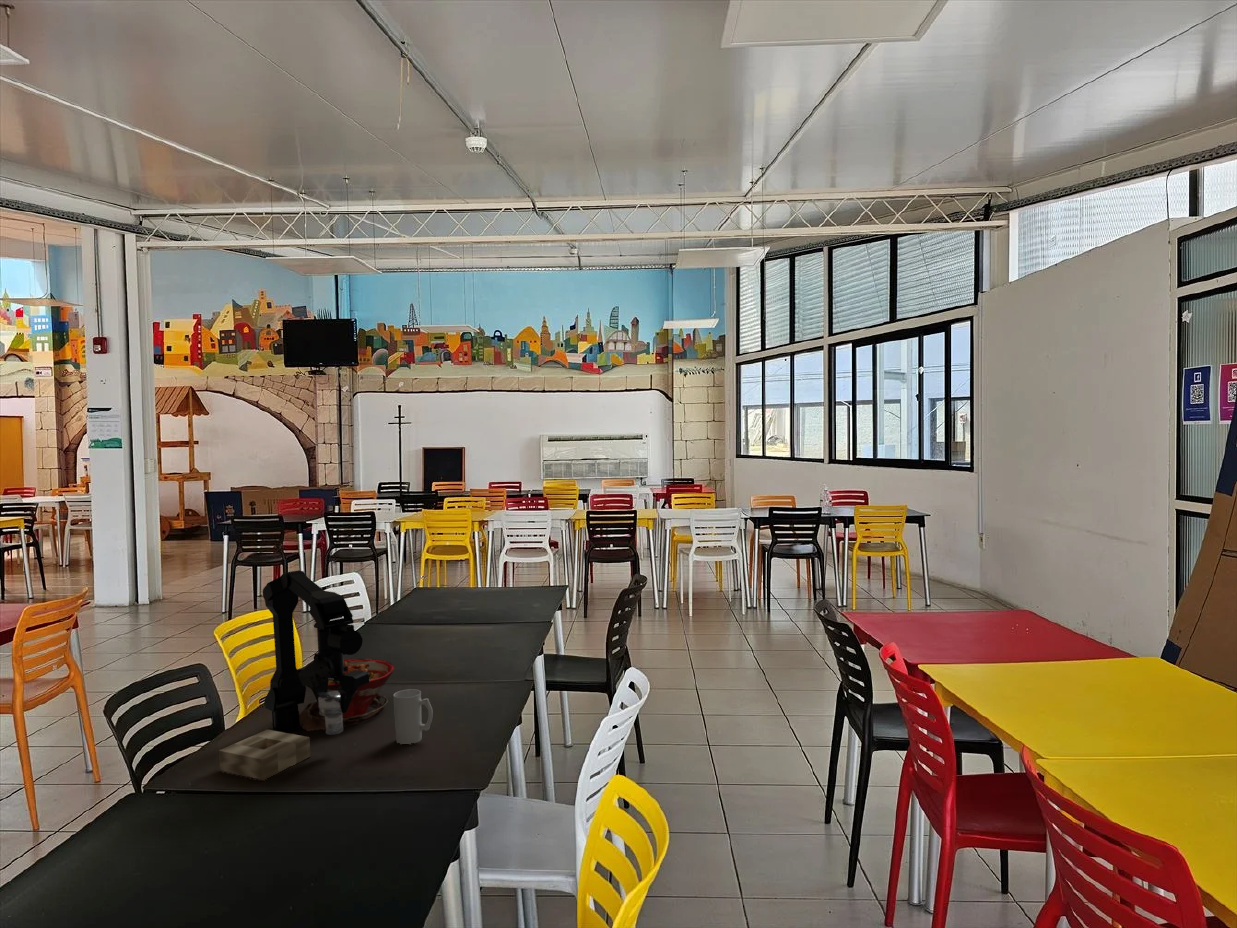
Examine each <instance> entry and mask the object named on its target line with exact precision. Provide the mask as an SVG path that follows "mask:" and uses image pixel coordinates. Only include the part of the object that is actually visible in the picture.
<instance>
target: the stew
mask: <svg viewBox="0 0 1237 928" xmlns="http://www.w3.org/2000/svg"><path fill="white" fill-rule="evenodd" d="M344 666H348V670H347V671H345V672H344V674H346V673H349V672H351V671H354V670H359V671H366V672H367V673H368V674H369V683H367V684H364V685H362V686H360V687H358V688H357V690H356V692H355V693H354V696H353V698H352V700H351V703H350V705H349V707H348V710H347V712H346V713H343V714H342V717H343V728H346V726H350V725H351V726H352V725H357V724H360V723H363V722H365V721H369V720H372V719H373V718H375V717H377V716H378V715H380V714H381V713H382V712H383V709H384V707H386V705H387V704H388V702H389V699H388V698H387V696H385V695H383V694H380V692H381V690H382V689H383V687H384V686H385V685H386V682H387V681H388V680H389V678H390V677H391V676H392V674H393V672H394V670H395V668H396V667H395V666H394V665H393V664H392V662H390V661H388V660H383V659H376V658H346V659H344ZM336 677H337V676H336ZM338 687H341V685H340V681H334V680H329V681H328V690H327V692H330V691H337V690H336V688H338ZM381 699H384V703H383V704H382V702H381ZM369 707H370V708H373V709H374V710H370V711H368V710H369ZM358 717H360V718H358ZM354 718H358V719H354ZM349 719H352V720H349ZM299 720H300V724H301V725H302V724H304V725H302V726H301V727H300V728H302V729H303V730H306V732H311V730H312V731H318V730H319V729H323V730H325V729H326V727H325V716H322V715H320V714H319V705H318V702H317V700H316V699H315V700H314V701H313V702H310V703H308V704H307V706H306V707H305V708H304V709H303V710H302V711H301V712H299ZM319 731H320V730H319ZM325 731H326V730H325Z"/></svg>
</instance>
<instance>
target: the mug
mask: <svg viewBox="0 0 1237 928" xmlns="http://www.w3.org/2000/svg"><path fill="white" fill-rule="evenodd" d="M422 706H425V708H426V709H427V711H428V717H427V722H426V723H423V722H422V721H423V720H422ZM393 711H394V725H395V727H394V728H395V739H396V740H395V742H396V743H397V744H398V743H400V744H399V745H402V744H409V745H412V744H411V743H414V744H416V743H419V742H420V741H422V739H423V738H422V736H423V734H422V733H423V731H426V732H427V731H429V729H430V727H431V724H432V721H433V718H434V717H433V716H434V711H433V707H432V705H431V702H430V700H429V698H423V699H422V691H421V690H419V689H415V688H414V689H411V688H409V689H408V688H407V689H403V690H399V691H396V692H395V693H393Z"/></svg>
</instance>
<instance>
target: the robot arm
mask: <svg viewBox="0 0 1237 928" xmlns="http://www.w3.org/2000/svg"><path fill="white" fill-rule="evenodd" d="M262 597H263V599H264V604H265V607H266V608H267V609H268V611H269V612H270V613H271V615H272V623H273V624H272V625H273V636H274V637H273V638H274V641H273V642H274V654H275V667H276V668H275V671H274V673H273V675H272V677H271V678H270V681H269V683H270V684H269V690H268V692H267V694H266V696H265V698H264V701H263V702H264V707H265V709H266V710H269V711H270V712H271V718H272V722H271V723H272V726H271V727H269V728H267V730H273V731H278V732H284V733H288V732H289V733H290V732H291V733H292V732H293V731H295V730H297V729H299V728H302V727H301V726H302V725H304V724H302V725H301V724H300V720H299V714H300V710H299V705H300V704H304V703H305V698H306V690H307V688H309V689H310V690H311V692H312V693H313V695H314V697H315V701H316V700H317V702H318V696H319V695H321V694H323V693H326V692H327V690H328V681H329V680H334V681H340V685H341V687H338V688H336V690H337V691H338V692H339V693H340V699H341V709H342V713H346V712H347V710H348V707H349V705H350V703H351V700H352V698H353V696H354V693H355V692H356V690H357V688H358V687H360V686H362V685H364V684H367V683H369V674H368V673H367V672H366V671H359V670H354V671H351V672H349V673H346V674H344V672H345V671H347V670H348V666H344V660H345V659H344V655H347V656H353V655H355V654H356V653H358V652H359V651H360V650H361V648H362V646H363V641H364V639H363V637H362V634H361V633H360V632H359V631H358V630H355V625H354V619H353V616H354V615H353V613H352V611H351V609H350V608H349V606H348V604H347V601H346V599H344V597H343V596H342V595H341V594H339V593H337V592H335V591H326V590H324V589H323V588H322V587H320V586H319V585H318V584H317V583H316V582H314V581H312V580H311V578H309V577H308V576H307V575H306V573H305V571H303V570H300V569H299V570H294V571H293V570H292V571H288V572H287V571H286V572H285V573H283V574H281V576H279V577H277V578H275V579H273V580H271V581H268V582H267V583H266V585H264V587H263V589H262ZM299 599H300V600H302V601H303V602H304V603H305V604H306V605H308V607H309V614H310V616H311V617H312V619H313V620H314V622H315V623H314V624H313V627H314V628H315V629H316V631H317V632H316V633H317V635H316V636H317V652H316V653H314V655H313V662H311V663H309V664H308V665H305V666H302V667H300V668H297V665H296V663H297V662H296V648H295V647H296V646H295V634H294V633H295V631H294V617H293V615H294V612H295V609H296V608H297V605H299ZM336 676H337V677H336ZM318 705H319V702H318Z"/></svg>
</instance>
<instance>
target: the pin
mask: <svg viewBox="0 0 1237 928" xmlns="http://www.w3.org/2000/svg"><path fill="white" fill-rule="evenodd" d="M318 702H319V714H320V715H322V716H325V727H326V730H325V734H326V735H330V736H333V735H338V734H341V733H343V732H344V727H343V717H342V714H343V713H342V709H341V699H340V693H339V692H338V691H330V692H326V693H323V694H321V695H319V696H318Z"/></svg>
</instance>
